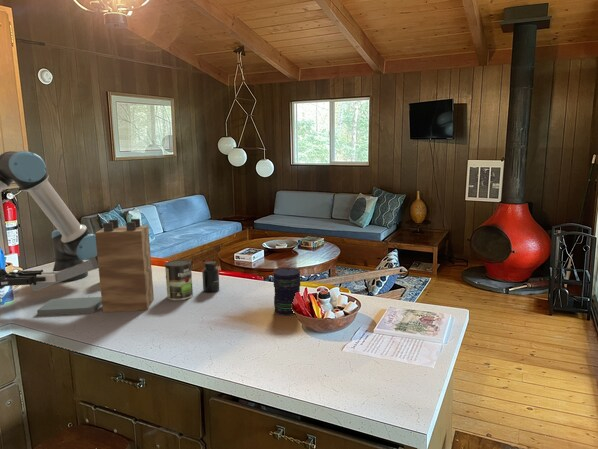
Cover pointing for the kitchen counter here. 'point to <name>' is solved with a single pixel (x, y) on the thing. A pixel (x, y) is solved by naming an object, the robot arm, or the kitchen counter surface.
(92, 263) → the grey bar
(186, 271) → the coffee can
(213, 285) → the supplement bottle
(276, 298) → the storage jar
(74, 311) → the gray block
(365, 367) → the kitchen counter surface
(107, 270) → the brown wooden tall block
